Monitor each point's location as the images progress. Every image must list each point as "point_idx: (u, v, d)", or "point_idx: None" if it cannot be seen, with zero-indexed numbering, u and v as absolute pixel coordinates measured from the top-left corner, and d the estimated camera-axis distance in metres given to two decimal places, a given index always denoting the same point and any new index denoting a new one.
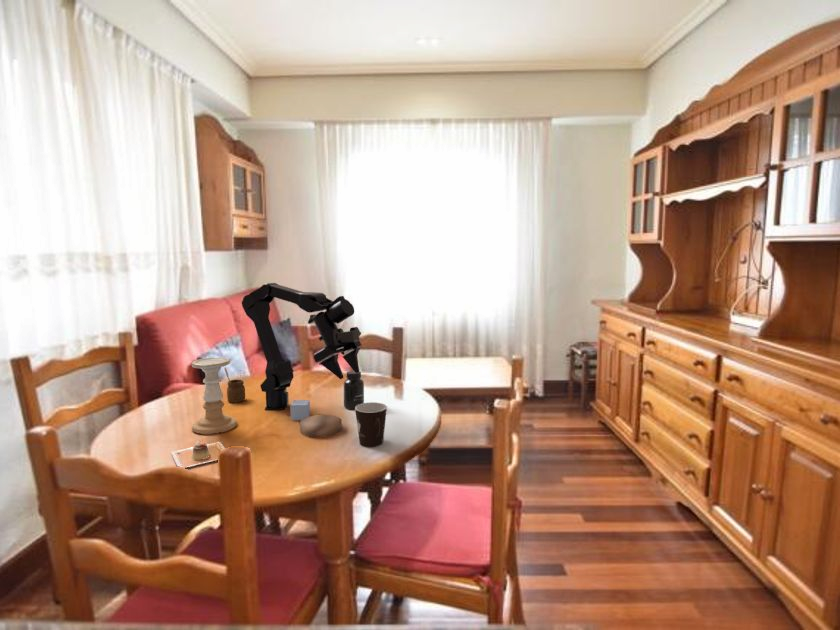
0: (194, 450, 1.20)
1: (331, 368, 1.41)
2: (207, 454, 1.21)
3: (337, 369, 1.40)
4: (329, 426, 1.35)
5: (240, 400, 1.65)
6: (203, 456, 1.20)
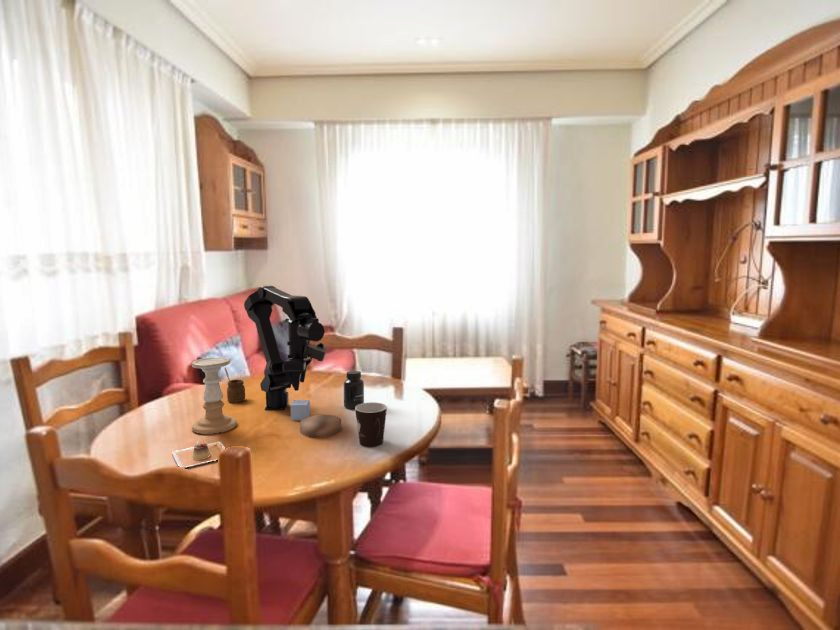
0: (195, 450, 1.20)
1: (292, 378, 1.42)
2: (208, 454, 1.21)
3: (297, 382, 1.43)
4: (329, 426, 1.35)
5: (240, 400, 1.65)
6: (204, 456, 1.20)
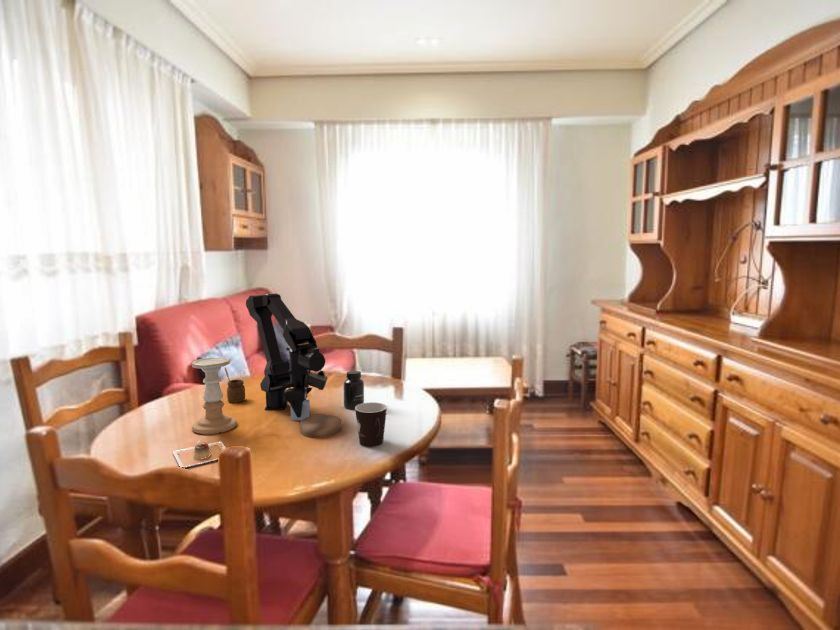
0: (195, 449, 1.20)
1: (294, 406, 1.45)
2: (208, 453, 1.21)
3: (300, 409, 1.46)
4: (329, 426, 1.35)
5: (240, 400, 1.65)
6: (204, 455, 1.20)
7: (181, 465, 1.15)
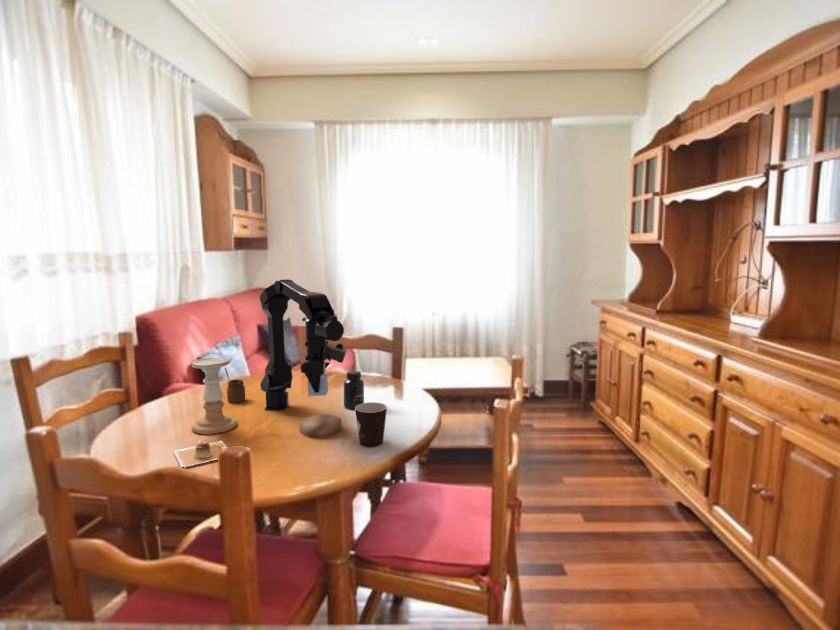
0: (196, 449, 1.20)
1: (312, 379, 1.35)
2: (209, 453, 1.21)
3: (318, 383, 1.35)
4: (329, 426, 1.35)
5: (240, 400, 1.65)
6: (205, 455, 1.20)
7: (182, 465, 1.15)
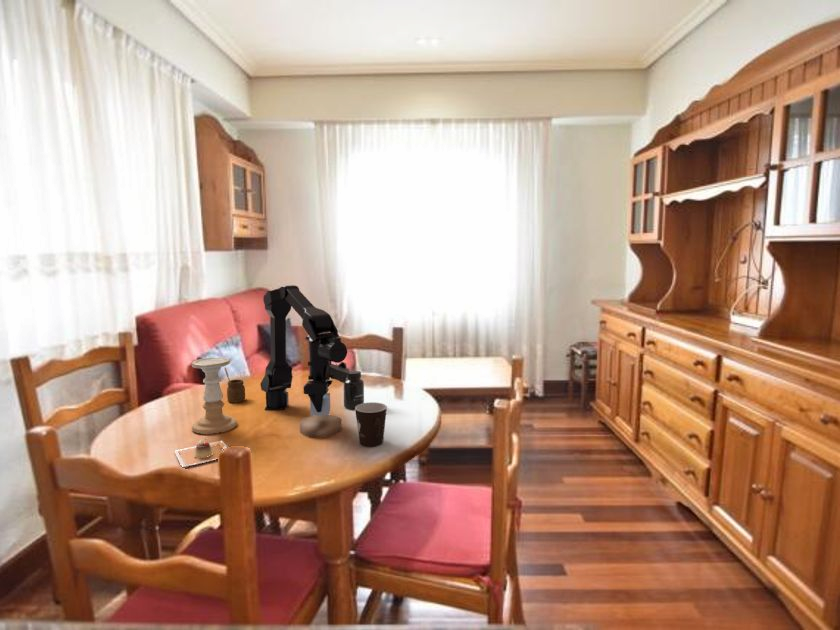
0: (197, 449, 1.20)
1: (314, 399, 1.34)
2: (210, 453, 1.21)
3: (320, 403, 1.35)
4: (329, 426, 1.35)
5: (240, 400, 1.65)
6: (206, 455, 1.20)
7: (183, 464, 1.15)
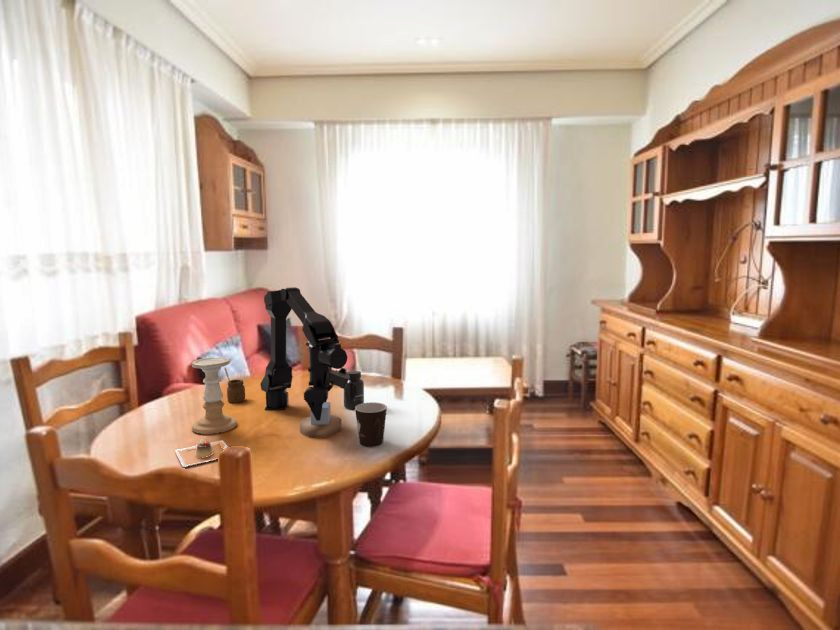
0: (198, 448, 1.21)
1: (314, 408, 1.33)
2: (210, 452, 1.22)
3: (319, 411, 1.33)
4: (329, 426, 1.35)
5: (240, 400, 1.65)
6: (206, 454, 1.21)
7: (183, 464, 1.15)
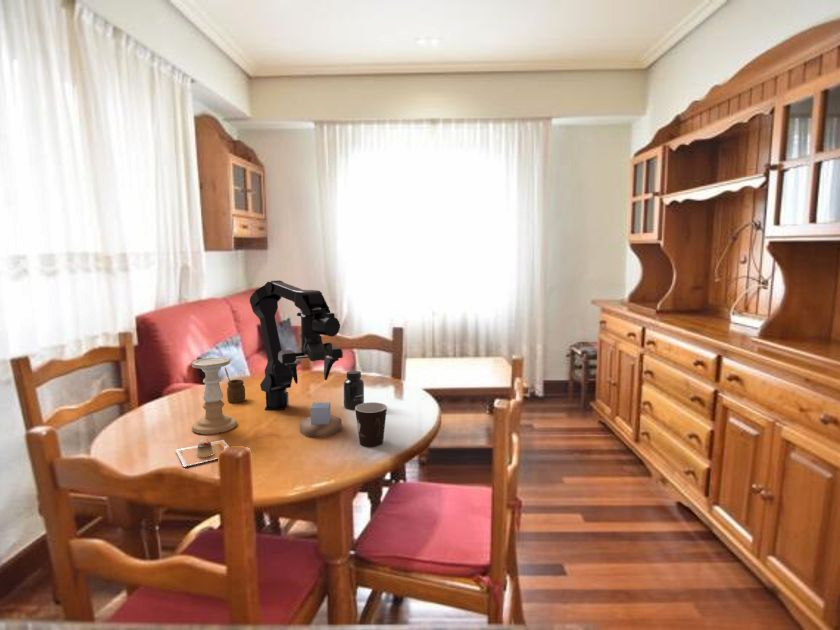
0: (198, 448, 1.21)
1: (291, 370, 1.44)
2: (211, 452, 1.22)
3: (293, 375, 1.43)
4: (329, 426, 1.35)
5: (240, 400, 1.65)
6: (207, 454, 1.21)
7: (184, 464, 1.16)
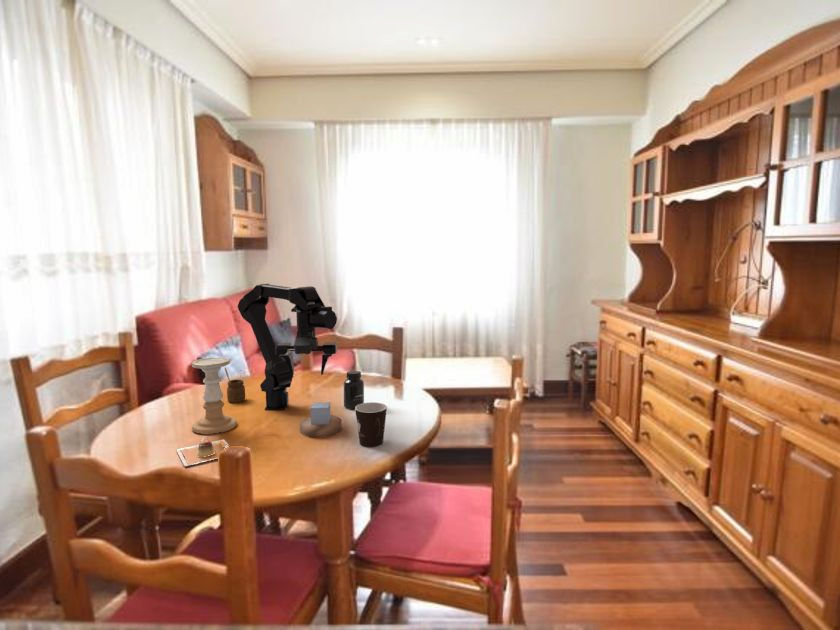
0: (199, 448, 1.21)
1: None
2: (212, 452, 1.22)
3: None
4: (329, 426, 1.35)
5: (240, 400, 1.65)
6: (208, 453, 1.21)
7: (185, 463, 1.16)
